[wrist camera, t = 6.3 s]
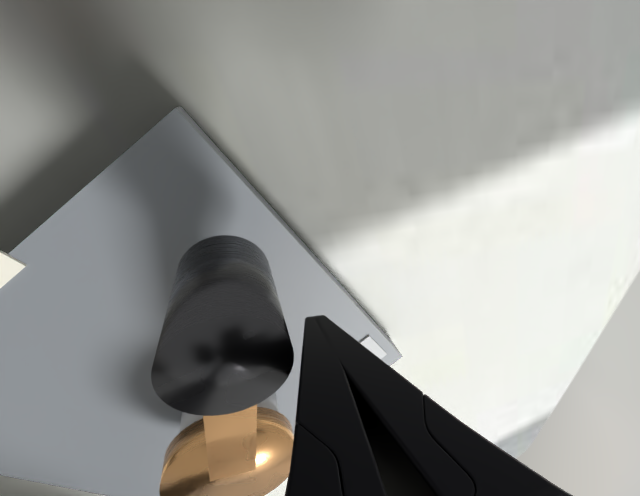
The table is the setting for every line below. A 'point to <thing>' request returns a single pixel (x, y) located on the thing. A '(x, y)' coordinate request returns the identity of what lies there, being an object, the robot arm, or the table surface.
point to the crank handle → (224, 372)
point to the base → (135, 311)
